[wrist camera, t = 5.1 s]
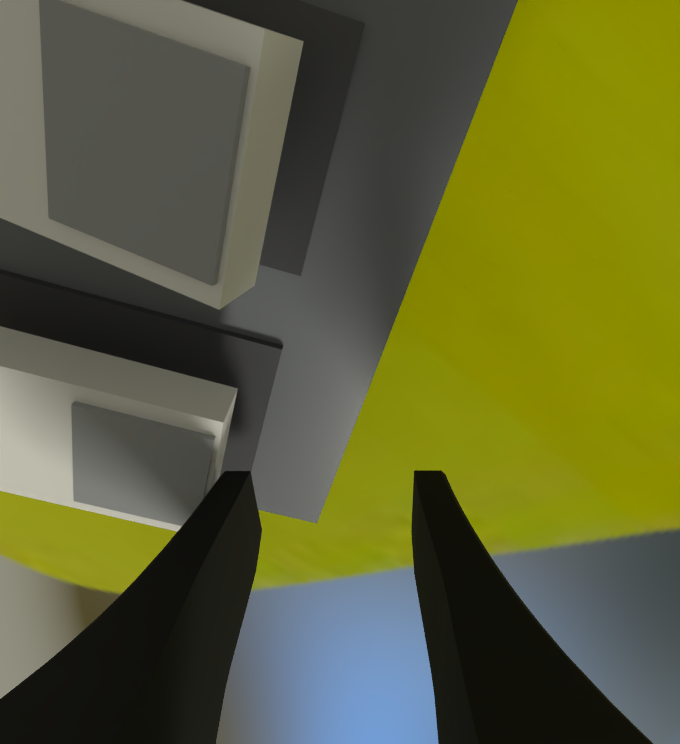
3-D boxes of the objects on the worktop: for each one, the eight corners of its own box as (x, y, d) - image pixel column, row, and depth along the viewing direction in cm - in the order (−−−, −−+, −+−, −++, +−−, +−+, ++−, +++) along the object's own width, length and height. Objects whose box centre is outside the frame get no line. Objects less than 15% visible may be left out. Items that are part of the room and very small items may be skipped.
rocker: (237, 388, 11) (221, 426, 10) (215, 498, 13) (199, 541, 11) (-100, 300, 10) (-159, 330, 9) (-70, 430, 12) (-115, 469, 11)
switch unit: (693, -568, 7) (884, -942, 4) (324, 460, 17) (316, 528, 15) (-350, -1102, 5) (-975, -2106, 3) (-61, 365, 16) (-141, 422, 14)
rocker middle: (302, 41, 6) (260, 27, 5) (254, 285, 8) (214, 312, 7) (-122, -104, 7) (-236, -141, 6) (-79, 149, 9) (-161, 155, 8)
